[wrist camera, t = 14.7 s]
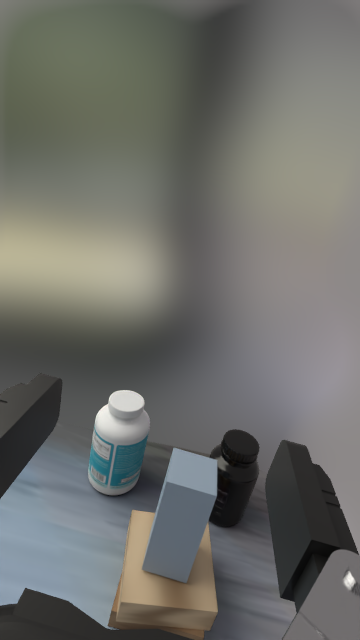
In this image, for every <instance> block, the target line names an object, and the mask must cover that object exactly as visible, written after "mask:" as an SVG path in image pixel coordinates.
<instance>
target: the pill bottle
mask: <svg viewBox="0 0 360 640" xmlns="http://www.w3.org/2000/svg"><path fill="white" fill-rule="evenodd" d="M143 408H144V399H143V398H142V396H141V395H139V394H138V393H135V392H133V391H129V390H121V391H117V392H114V393H113V394H112V395H111V396H110V398H109V403H108V404H107V405H105V406H104V407H103V408H102V409H101V410H100V411H99V412H98V414H97V416H96V420H95V426H94V433H93V440H92V447H91V454H90V461H89V469H88V477H89V481H90V483H91V485H92V486H93V487H94V488H95V489H96V490H97V491H99V492H101V493H103V494H107V495H120V494H123V493H126V492H128V491H129V490H131V489H132V488H133V487H134V486H135V484H136V483H137V481H138V478H139V475H140V470H141V466H142V461H143V456H144V451H145V447H146V442H147V437H148V433H149V428H150V420H149V417H148V414H147V413H146V412H145V410H144V409H143Z"/></svg>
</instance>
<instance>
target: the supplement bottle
mask: <svg viewBox="0 0 360 640" xmlns="http://www.w3.org/2000/svg"><path fill="white" fill-rule="evenodd" d="M258 452H259V444H258V442H257V441H256V439H255V438H254V437H253V436H252V435H250V434H249V433H247V432H245V431H242V430H236V429H235V430H230V431H228V432H226V434H225V435H224V438H223V440H222V442H221V444H220V445H217V446H216V447H215V448H214V449H213V450H212V452H211V454H210V457H209V458H211V459H215V460H217V497H216V500H215V503H214V506H213V508H212V511H211V514H210V517H209V521H211V522H212V523H214V524H216V525H219V526H225V527H228V526H233V525H235V524H237V523H238V522H239V521H240V520H241V518H242V516H243V514H244V512H245V509H246V507H247V504H248V502H249V499H250V496H251V494H252V491H253V489H254V486H255V483H256V481H257V478H258V475H259V466H258V462H257V455H258Z"/></svg>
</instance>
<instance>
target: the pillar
mask: <svg viewBox="0 0 360 640" xmlns="http://www.w3.org/2000/svg"><path fill="white" fill-rule="evenodd" d="M216 497H217V460H215V459H211V458H208V457H204V456H201V455H197V454H194V453H190V452H187V451H183V450H180V449H177V448H174V449H173V452H172V456H171V459H170V463H169V466H168V470H167V474H166V477H165V481H164V484H163V488H162V491H161V495H160V498H159V502H158V506H157V509H156V513H155V516H154V520H153V523H152V527H151V531H150V535H149V540H148V544H147V548H146V552H145V557H144V561H143V565H142V570H144V571H148V572H151V573H154V574H157V575H161V576H164V577H167V578H170V579H174V580H177V581H180V582H183V583H187V580H188V577H189V574H190V571H191V569H192V566H193V563H194V560H195V557H196V554H197V551H198V549H199V546H200V543H201V540H202V537H203V534H204V531H205V528H206V526H207V523H208V520H209V517H210V514H211V511H212V508H213V506H214V503H215V500H216Z"/></svg>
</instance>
